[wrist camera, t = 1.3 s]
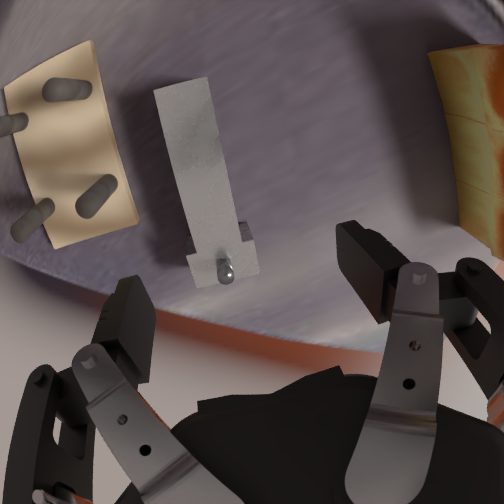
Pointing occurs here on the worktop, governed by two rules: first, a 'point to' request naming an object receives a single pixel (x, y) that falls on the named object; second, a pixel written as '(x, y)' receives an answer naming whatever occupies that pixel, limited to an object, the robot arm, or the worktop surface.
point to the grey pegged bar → (204, 186)
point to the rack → (67, 150)
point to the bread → (476, 135)
